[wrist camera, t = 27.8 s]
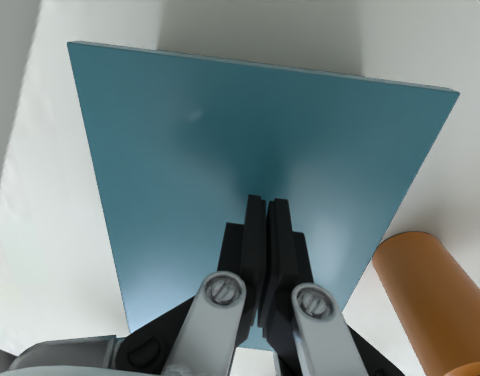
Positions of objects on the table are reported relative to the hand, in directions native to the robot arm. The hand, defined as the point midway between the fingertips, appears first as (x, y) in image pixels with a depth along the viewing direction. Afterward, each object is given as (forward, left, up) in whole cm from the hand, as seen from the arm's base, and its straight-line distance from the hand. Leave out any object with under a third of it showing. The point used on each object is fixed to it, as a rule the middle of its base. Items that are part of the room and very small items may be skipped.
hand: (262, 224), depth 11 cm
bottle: (-7, +16, -10) cm, 20 cm away
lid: (+2, +2, -2) cm, 4 cm away
